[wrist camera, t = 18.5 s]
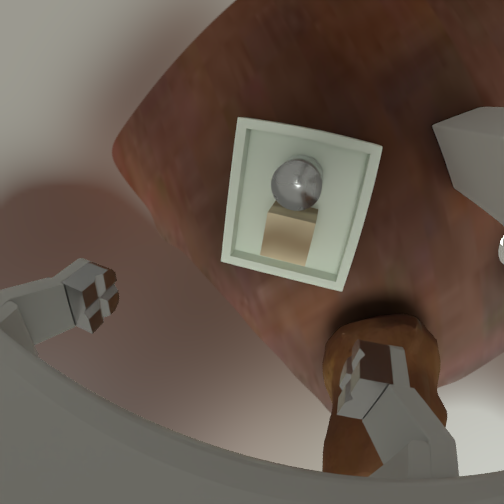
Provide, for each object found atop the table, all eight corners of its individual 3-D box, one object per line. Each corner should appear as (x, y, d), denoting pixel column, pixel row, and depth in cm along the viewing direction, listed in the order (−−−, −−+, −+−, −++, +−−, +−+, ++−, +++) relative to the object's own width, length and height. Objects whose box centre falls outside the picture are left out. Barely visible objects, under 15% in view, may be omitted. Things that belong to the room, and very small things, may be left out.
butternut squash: (350, 377, 41) (332, 537, 19) (309, 313, 38) (263, 506, 16) (437, 343, 34) (468, 511, 13) (410, 268, 31) (464, 474, 10)
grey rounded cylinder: (272, 169, 30) (260, 179, 26) (307, 146, 28) (302, 151, 24) (296, 204, 31) (289, 219, 27) (331, 182, 29) (331, 194, 25)
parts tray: (244, 117, 29) (237, 117, 27) (378, 144, 27) (382, 146, 25) (228, 252, 37) (220, 261, 35) (342, 280, 34) (342, 291, 32)
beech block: (276, 199, 32) (267, 212, 28) (318, 209, 31) (315, 223, 27) (269, 237, 34) (259, 255, 30) (308, 247, 33) (304, 266, 29)
